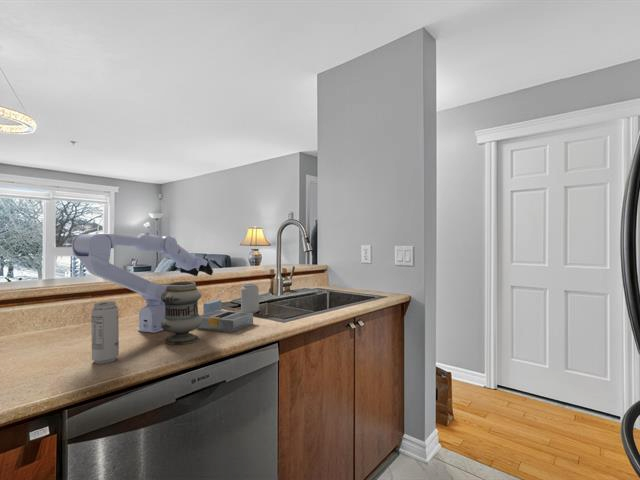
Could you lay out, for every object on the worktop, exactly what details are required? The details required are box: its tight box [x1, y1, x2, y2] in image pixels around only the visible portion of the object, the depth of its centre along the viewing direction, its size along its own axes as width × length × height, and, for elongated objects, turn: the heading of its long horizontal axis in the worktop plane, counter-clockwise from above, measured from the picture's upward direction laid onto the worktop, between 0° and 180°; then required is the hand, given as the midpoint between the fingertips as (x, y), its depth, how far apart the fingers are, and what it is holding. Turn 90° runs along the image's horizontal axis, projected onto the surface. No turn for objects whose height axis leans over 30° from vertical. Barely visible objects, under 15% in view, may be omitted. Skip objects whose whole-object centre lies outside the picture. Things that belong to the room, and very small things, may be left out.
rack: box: [197, 309, 254, 333], centre depth 125 cm, size 13×16×4 cm
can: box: [240, 283, 260, 314], centre depth 148 cm, size 8×8×12 cm
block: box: [202, 299, 223, 314], centre depth 140 cm, size 8×3×6 cm, turn 159°
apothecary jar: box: [161, 280, 202, 346], centre depth 108 cm, size 12×12×18 cm
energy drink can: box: [90, 301, 120, 365], centre depth 91 cm, size 6×6×15 cm
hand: (204, 273), depth 141 cm, fingers open, 7 cm apart
